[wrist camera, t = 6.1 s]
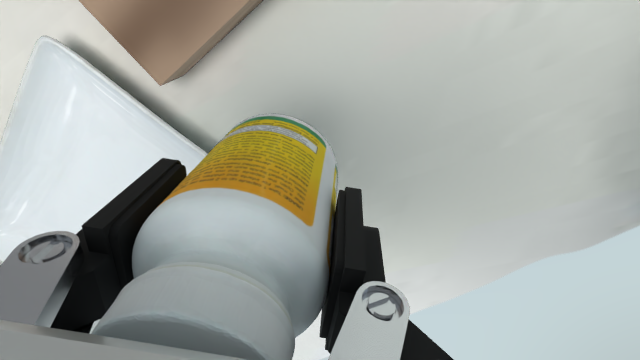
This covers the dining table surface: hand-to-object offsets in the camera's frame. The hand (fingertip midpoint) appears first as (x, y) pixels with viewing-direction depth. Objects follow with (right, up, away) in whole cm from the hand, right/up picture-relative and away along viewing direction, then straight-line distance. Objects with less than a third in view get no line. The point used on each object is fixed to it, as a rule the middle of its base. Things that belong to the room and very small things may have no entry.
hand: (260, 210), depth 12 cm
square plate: (-16, -3, +24) cm, 29 cm away
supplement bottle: (0, +2, +3) cm, 4 cm away
